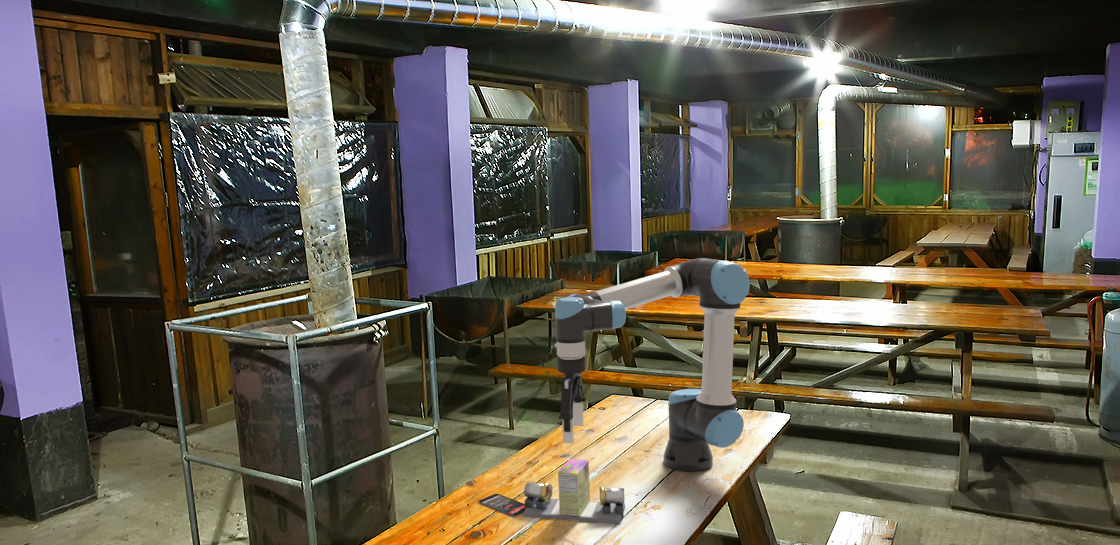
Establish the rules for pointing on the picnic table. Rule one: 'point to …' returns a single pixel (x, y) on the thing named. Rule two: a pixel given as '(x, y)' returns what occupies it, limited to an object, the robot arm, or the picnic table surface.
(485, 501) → the smartphone
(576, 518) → the bed
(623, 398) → the picnic table surface
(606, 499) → the shaft
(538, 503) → the shaft
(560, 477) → the box
